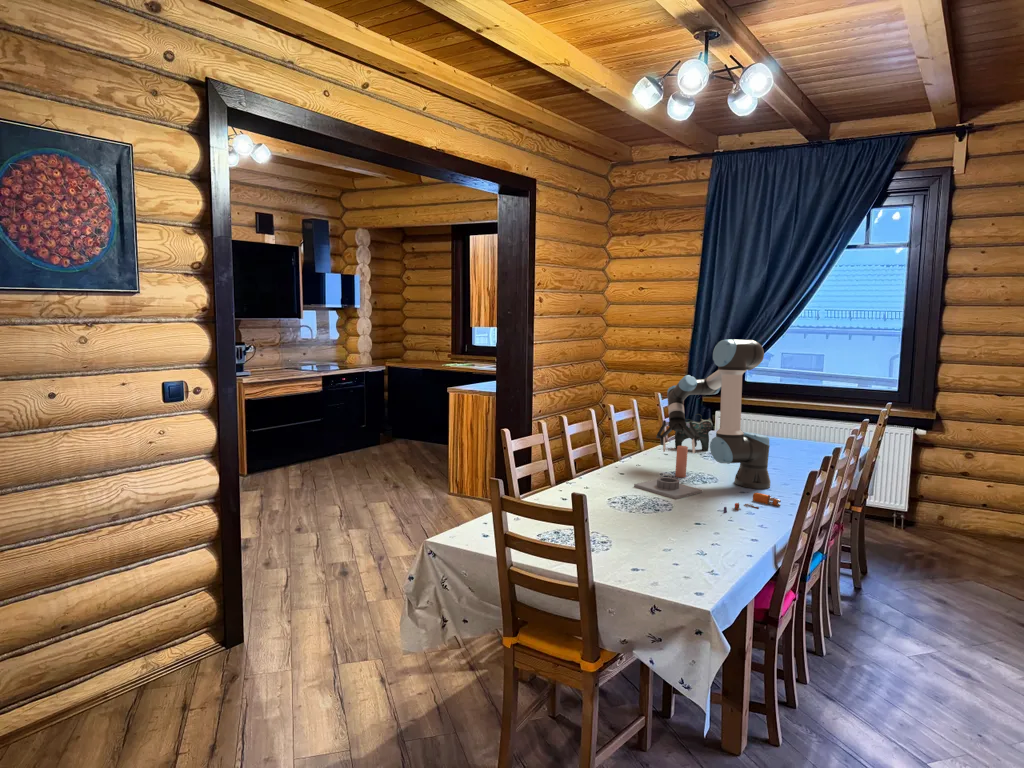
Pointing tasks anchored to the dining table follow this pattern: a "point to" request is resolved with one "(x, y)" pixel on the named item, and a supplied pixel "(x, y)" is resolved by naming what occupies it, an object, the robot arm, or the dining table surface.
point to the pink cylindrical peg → (681, 461)
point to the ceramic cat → (702, 430)
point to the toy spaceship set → (758, 498)
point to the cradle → (668, 487)
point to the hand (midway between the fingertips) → (679, 451)
